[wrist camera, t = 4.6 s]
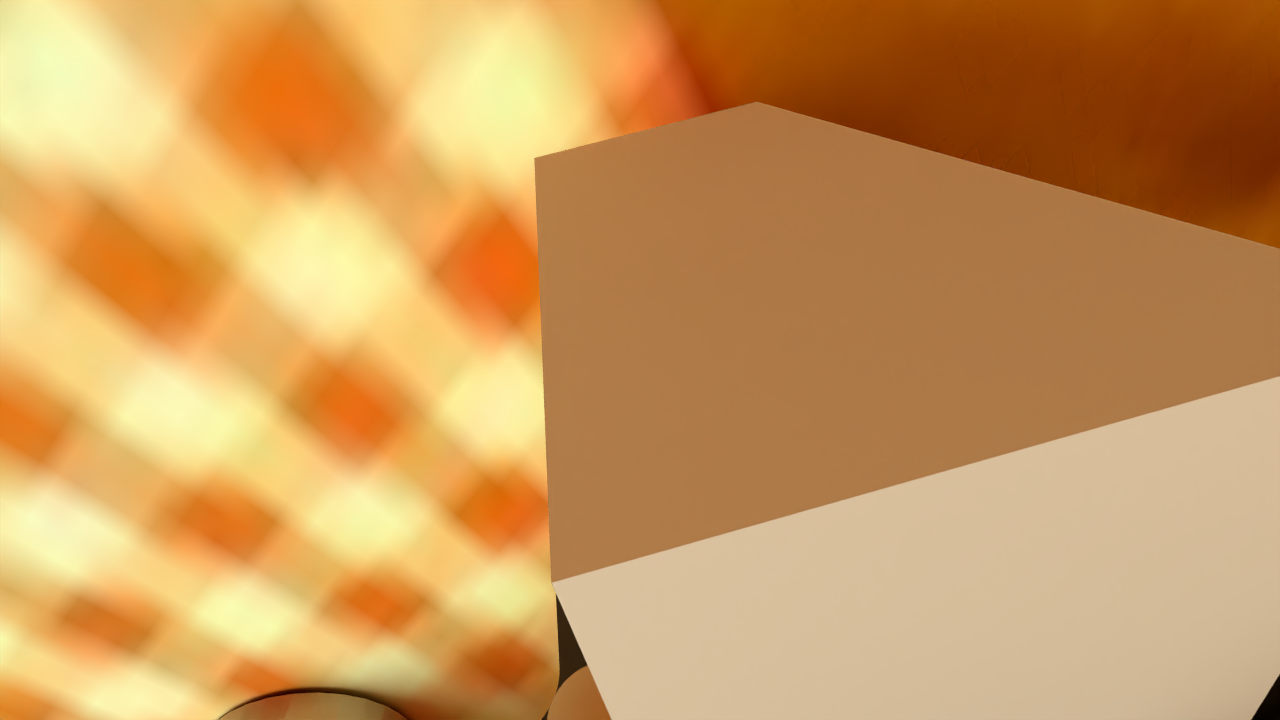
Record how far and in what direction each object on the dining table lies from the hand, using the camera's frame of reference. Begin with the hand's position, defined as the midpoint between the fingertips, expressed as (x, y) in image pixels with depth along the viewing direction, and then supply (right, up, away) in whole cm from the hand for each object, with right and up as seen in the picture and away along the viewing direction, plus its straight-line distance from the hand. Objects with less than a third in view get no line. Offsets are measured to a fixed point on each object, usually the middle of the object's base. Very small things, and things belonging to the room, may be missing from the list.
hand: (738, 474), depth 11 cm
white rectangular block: (-1, +1, +2) cm, 2 cm away
